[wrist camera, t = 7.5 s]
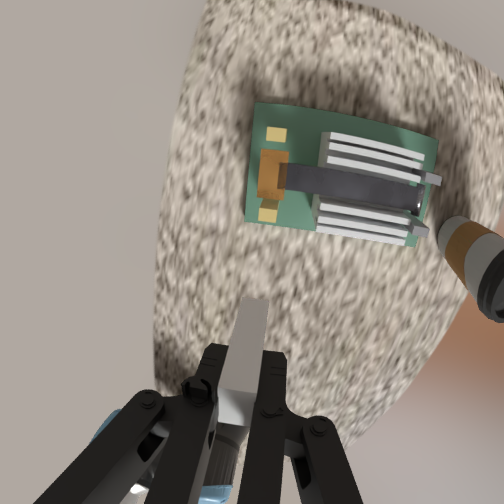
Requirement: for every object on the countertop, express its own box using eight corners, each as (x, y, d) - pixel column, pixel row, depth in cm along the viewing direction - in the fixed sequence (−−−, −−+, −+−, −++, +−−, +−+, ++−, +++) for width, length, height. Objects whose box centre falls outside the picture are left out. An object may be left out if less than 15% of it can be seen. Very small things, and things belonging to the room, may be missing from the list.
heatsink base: (434, 139, 26) (475, 146, 18) (411, 243, 32) (441, 278, 24) (256, 103, 28) (242, 91, 19) (245, 218, 34) (230, 249, 25)
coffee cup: (479, 243, 30) (538, 297, 16) (439, 273, 33) (489, 340, 19) (465, 196, 28) (537, 238, 14) (421, 227, 31) (482, 287, 17)
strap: (424, 178, 22) (429, 180, 22) (415, 219, 24) (419, 223, 23) (261, 148, 23) (261, 148, 22) (257, 195, 25) (256, 197, 24)
